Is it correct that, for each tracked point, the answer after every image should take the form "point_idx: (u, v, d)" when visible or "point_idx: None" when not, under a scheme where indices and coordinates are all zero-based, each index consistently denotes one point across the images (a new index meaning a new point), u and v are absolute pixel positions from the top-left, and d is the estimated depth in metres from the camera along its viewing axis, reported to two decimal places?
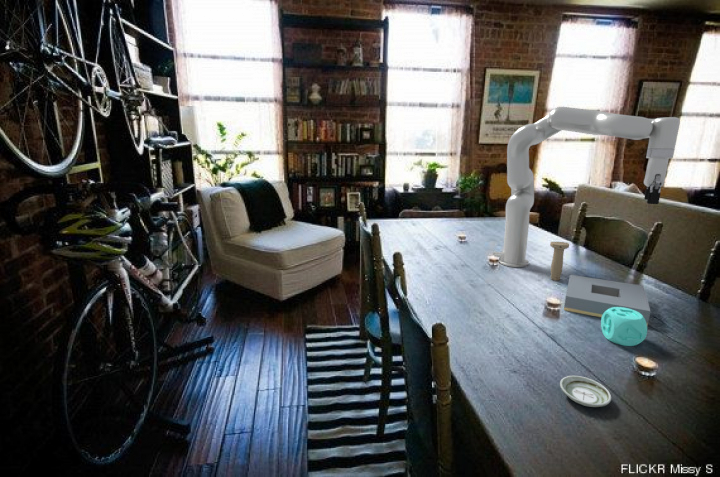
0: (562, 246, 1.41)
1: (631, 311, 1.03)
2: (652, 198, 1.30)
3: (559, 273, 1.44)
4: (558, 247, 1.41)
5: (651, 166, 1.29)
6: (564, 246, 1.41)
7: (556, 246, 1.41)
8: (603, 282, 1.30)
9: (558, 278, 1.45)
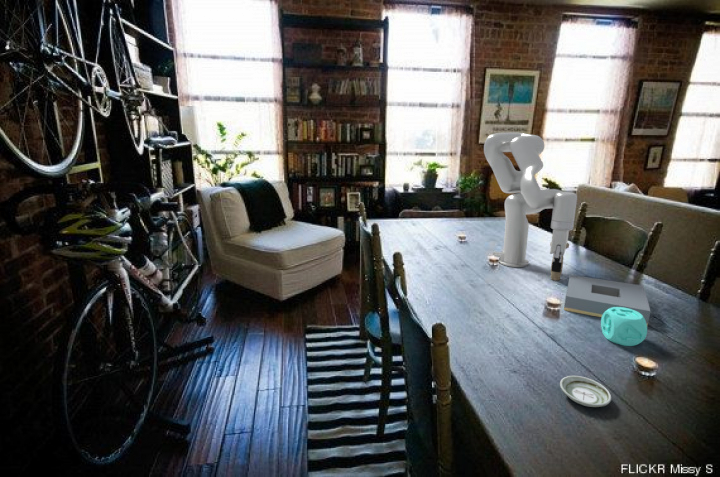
0: None
1: (631, 311, 1.03)
2: (555, 267, 1.43)
3: (559, 273, 1.44)
4: None
5: (553, 237, 1.39)
6: None
7: None
8: (603, 282, 1.30)
9: (558, 278, 1.45)
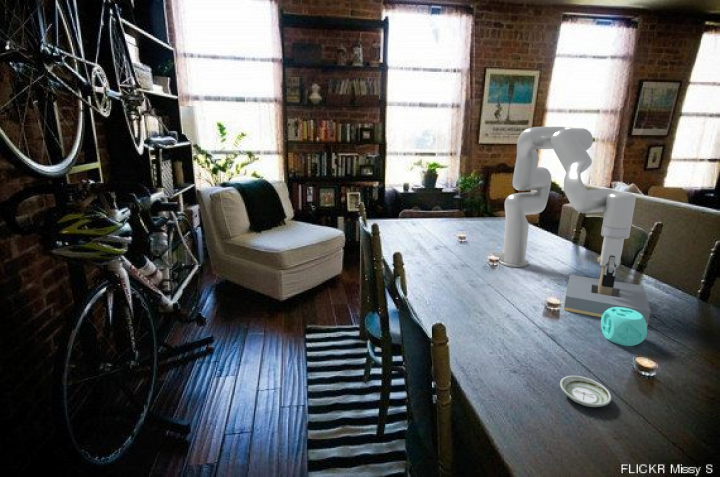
0: None
1: (631, 311, 1.03)
2: (606, 281, 1.18)
3: (609, 294, 1.22)
4: None
5: (605, 246, 1.17)
6: None
7: None
8: None
9: None
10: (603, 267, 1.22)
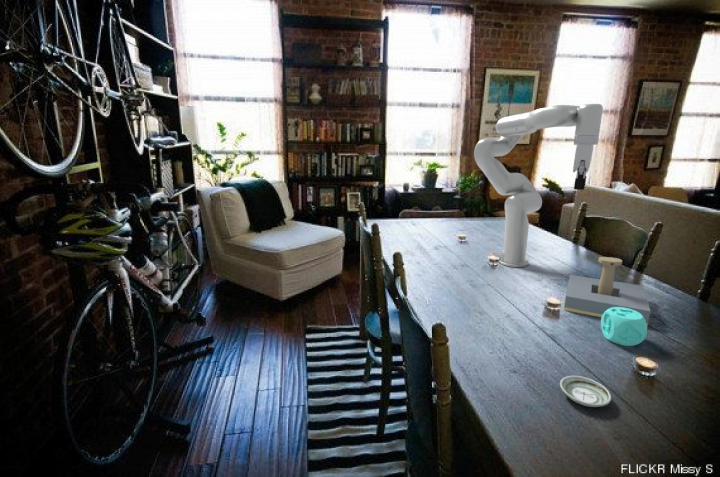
0: (614, 263, 1.18)
1: (631, 311, 1.03)
2: (578, 184, 1.32)
3: (609, 294, 1.22)
4: (609, 264, 1.19)
5: (576, 152, 1.32)
6: (616, 263, 1.18)
7: (606, 263, 1.19)
8: None
9: None
10: (604, 268, 1.21)
